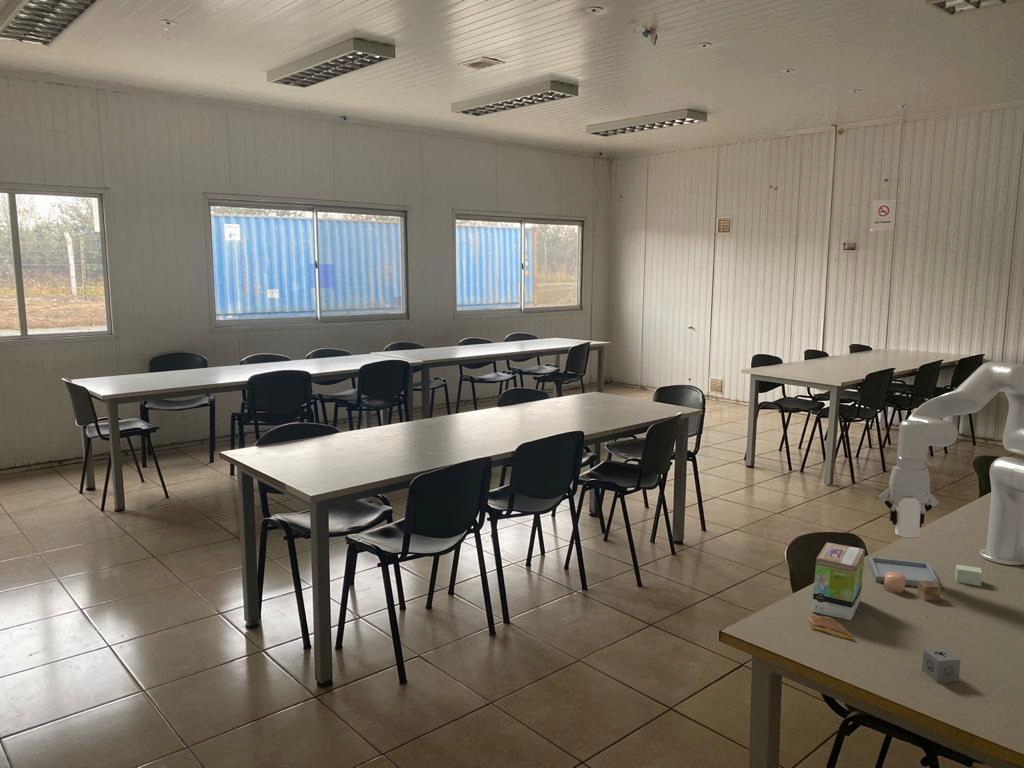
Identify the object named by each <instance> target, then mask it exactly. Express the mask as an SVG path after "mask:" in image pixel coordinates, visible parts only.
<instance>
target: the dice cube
mask: <svg viewBox="0 0 1024 768" xmlns="http://www.w3.org/2000/svg"><path fill="white" fill-rule="evenodd" d="M961 661H962V659H961V658H958V657H957V656H956V655H954V654H953V653H952V652H950V651H949V650H948V649H946V648H945V647H944V648H931V649H930V648H929V649H923V652H922V662H921V663H922V664H921V665H922V667H921V671H922V672H923V673H924V672H925V673H926V674H925V673H924V674H925V675H927V676H928V677H929V678H930V677H931V678H930V679H932V680H933V681H934V682H935V681H936V682H935V683H937V682H939V683H950V682H951V683H953V682H952V681H955V682H959V679H960V671H961V670H960V669H961Z"/></svg>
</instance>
